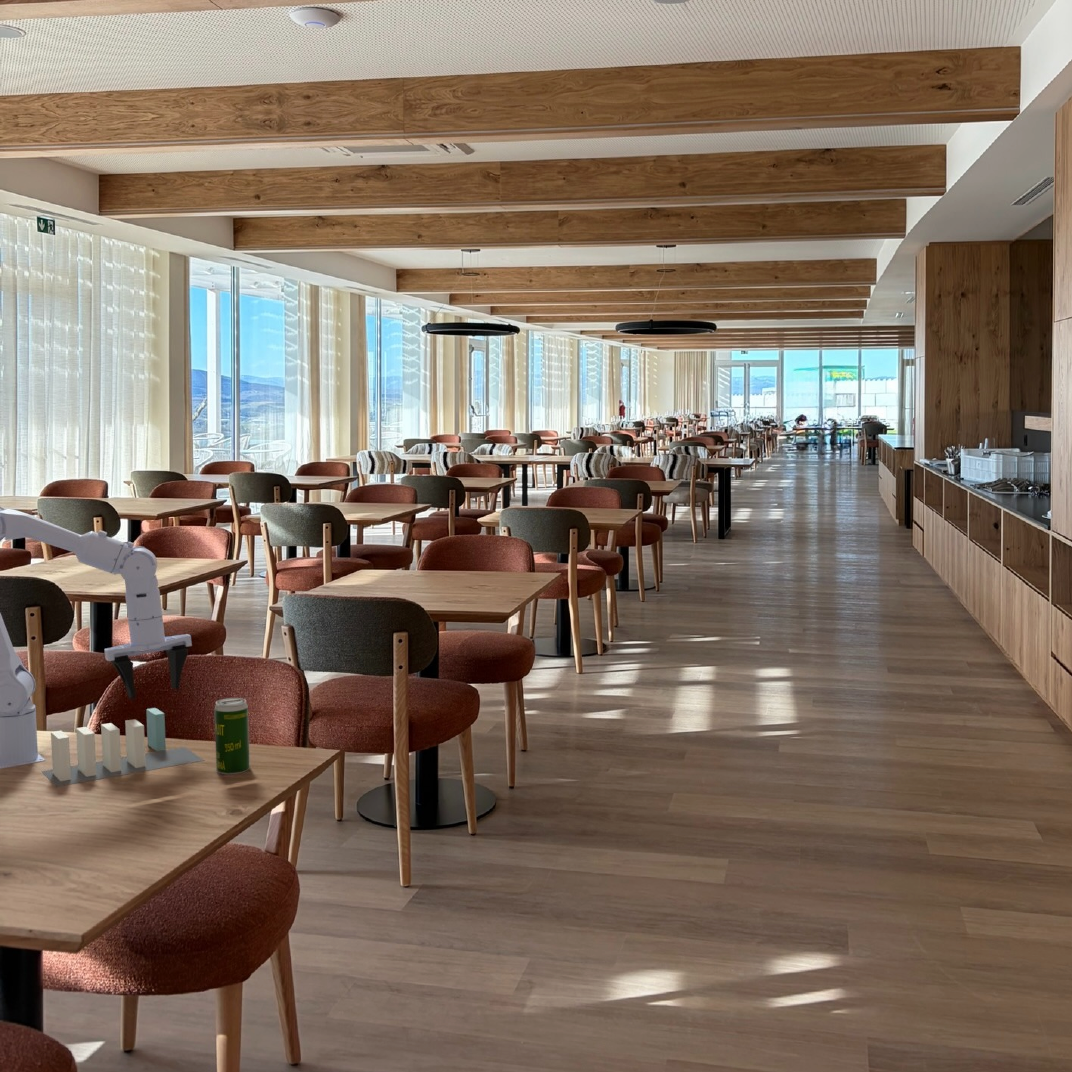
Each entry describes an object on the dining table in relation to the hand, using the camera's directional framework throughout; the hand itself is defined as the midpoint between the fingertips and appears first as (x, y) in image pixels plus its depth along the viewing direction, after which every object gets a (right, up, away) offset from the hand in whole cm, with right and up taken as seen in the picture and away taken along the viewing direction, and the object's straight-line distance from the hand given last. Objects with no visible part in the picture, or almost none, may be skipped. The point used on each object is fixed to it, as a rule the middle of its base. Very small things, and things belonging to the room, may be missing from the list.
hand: (154, 693), depth 206 cm
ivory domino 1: (-10, -12, -15) cm, 21 cm away
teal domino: (0, -10, +2) cm, 11 cm away
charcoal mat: (-2, -12, -9) cm, 15 cm away
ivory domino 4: (-1, -11, -8) cm, 13 cm away
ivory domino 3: (-4, -11, -10) cm, 15 cm away
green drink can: (+17, -12, -11) cm, 23 cm away
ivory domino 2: (-7, -11, -12) cm, 18 cm away
